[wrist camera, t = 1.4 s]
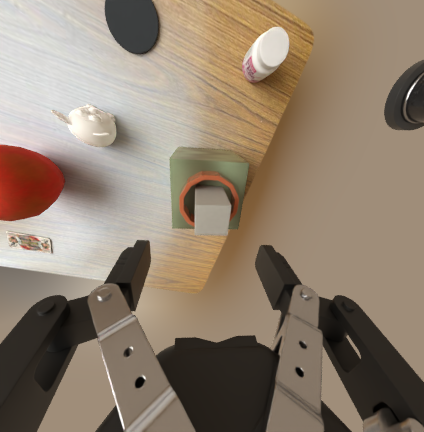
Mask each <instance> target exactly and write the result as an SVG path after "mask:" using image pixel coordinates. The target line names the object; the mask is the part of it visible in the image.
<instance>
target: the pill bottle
mask: <svg viewBox="0 0 424 432" xmlns="http://www.w3.org/2000/svg"><path fill="white" fill-rule="evenodd" d="M288 50H289V38H288V35H287V33H286V31H285V30H284V29H283V28H281V27H273V28H271V29H269V30H268V31H267V32H265V33H263V34H262V35H260V36H259V37H258V38H257V40H256V41H255V42H254V44H253V45H252V46H251V48H250V49H249V50H248V52H247V53H246V55H245V57H244V59H243V63H242V70H243V74H244V76H245V78H246V79H247V80H248V81H250V82H253V83H255V82H259V81H261V80H262V79H264V78H265V77H267V76H268V75H270V74H271V73H273V72H274V71H275V70H276V69H277V68H278V67H279V66H280V64H281V63H282V62H283V61H284V59H285V58H286V56H287V53H288Z"/></svg>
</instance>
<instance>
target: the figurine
mask: <svg viewBox="0 0 424 432" xmlns="http://www.w3.org/2000/svg"><path fill="white" fill-rule="evenodd" d="M51 112H52V113H53V114H54V115H55V116H56V117H58V118H59V119H60V120H62V121H64V122H65V123H67V124H68V127H69V129H70V131H71V132H72V133H73V134H74V135H75V136H76V137H77V138H78V139H79V140H81V141H82V142H84V143H86V144H88V145H91V146H95V147H106V146H108V145H110V144H111V143H113V141H114V140H115V138H116V126H115V122H116V120H115V118H114V116H113V115H112V114H110V113H104V112H103V111H101V110H99V109H97V108H95V107H94V106H93V105H90V104H87V106H84V107H79V108H76V109H75V110H73V111H72V112H71V113H70V114H69V116H68V117H66V116H65V115H63V114H61V113H59V112H57V111H55V110H51Z"/></svg>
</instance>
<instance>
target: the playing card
mask: <svg viewBox="0 0 424 432" xmlns="http://www.w3.org/2000/svg"><path fill="white" fill-rule="evenodd" d="M6 234H7V238H8V242H9V246H10V247H13V248H19V249H25V250H32V251H38V252H44V253H50V254H51V244H50V239H48V238H42V237H37V236H31V235H26V234H20V233H15V232H9V231H7V232H6Z"/></svg>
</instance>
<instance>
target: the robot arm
mask: <svg viewBox="0 0 424 432" xmlns="http://www.w3.org/2000/svg"><path fill="white" fill-rule="evenodd" d="M401 115H402V118H403V119H404V120H405V121H406V122H408V123H424V71H423V72H422V73H420V74H419V75H418V76H417V77H416V78H415V79H414V80H413V82H412V83H411V84H410V86H409V87H408V89H407V91H406V92H405V95H404V97H403V100H402V103H401ZM150 262H151V254H150V242H149V241H148V240H137V241H136V243H135V245H134V247H128V248H127V249H126V250H124V251H123V252H122V253H121V255H120V257H119V259H118V260H117V262H116V265H114V267H113V269H112V271H111V272H110V274H109V276H108V277H107V279H106V281H105V283H104V284H103V285H101V286H99V287H97V288H96V289H94V290H93V291H92V292H91V293H90V295H88V296H85V297H82V298H78V299H74V300H70V301H67V299H66V298H65V297H64V296H61V295H55V296H50V297H47V298H45V299H43V300H41V301H39V302H37V303H36V304H35V305H33V306H32V307H31V308H30V309H29V310H28V312H27V313H26V314H25V315H24V316H23V317H22V319H21V320H20V321H19V322H18V323H17V325H16V326H15V327H14V328H13V329H12V331H11V332H10V333H9V334H8V336H7V337H6V338H5V339H4V340H3V342H2V343H1V344H0V432H37V430H38V428H39V426H40V424H41V422H42V420H43V418H44V415H45V413H46V411H47V409H48V407H49V405H50V403H51V401H52V399H53V396H54V395H55V392H56V390H57V388H58V386H59V384H60V382H61V380H62V378H63V376H64V373H65V371H66V369H67V367H68V365H69V363H70V361H71V359H72V357H73V355H74V353H75V351H76V348H77V346H78V344H80V343H84V342H87V341H89V340H92V339H95V338H98V342H99V346H100V349H101V353H102V356H103V360H104V363H105V367H106V370H107V374H108V377H109V381H110V384H111V388H112V391H113V395H114V398H115V402H116V406H115V407H114V408H113V410H112V411H111V412H110V413H109V415H108V416H107V417H106V419H105V420H104V421H103V422H102V424H101V425H100V426H99V428H98V429H97V430H96V432H351V431H350V429H349V428H348V427H347V426H346V425H345V424H344V423H343V422H342V421H341V420H340V419H339V418H338V417H337V416H336V415H335V414H334V413H333V412H332V411H331V410H330V409H329V408H328V407H327V406H326V404H324V403H323V401H322V400H321V382H322V381H321V380H322V345H323V347H324V348H325V350H326V352H327V354H328V356H329V358H330V360H331V362H332V364H333V366H334V367H335V369H336V371H337V373H338V375H339V377H340V378H341V381H342V382H343V384H344V386H345V388H346V390H347V392H348V394H349V396H350V398H351V400H352V401H353V403H354V405H355V407H356V408H357V411H358V413H359V415H360V416H361V419H362V420H363V431H364V432H424V382H423V381H422V380H421V379H420V378H419V376H418V375H417V374H416V373H415V372H414V370H413V369H412V368H411V367H410V366H409V364H408V363H407V362H406V361H405V360H404V358H403V357H402V356H401V355H400V354H399V353H398V351H397V350H396V349H395V348H394V347H393V346H392V344H391V343H390V342H389V341H388V340H387V338H386V337H385V336H384V335H383V334H382V333H381V331H380V330H379V329H378V328H377V327H376V325H375V324H374V323H373V322H372V321H371V320H370V318H369V317H368V316H367V315H366V314H365V312H363V310H362V309H361V308H360V307H359V305H357V304H356V303H355V302H354V301H352V300H351V299H349V298H347V297H345V296H341V295H337V296H335V297H334V299H333V300H329V299H325V298H322V297H318V295H317V294H316V292H315V291H313V290H312V289H311V288H309V287H307V286H305V285H302V283H301V282H300V280H299V279H298V277H297V276H296V274H295V273H294V271H293V270H292V269H291V267H290V265H289V264H288V263H287V261H286V259H285V258H284V257H283V256H282V255H281V254H279V253H277V252H276V251H275V250H274V248H273V247H272V246H270V245H261V246H260V248H259V251H258V254H257V258H256V262H255V267H256V270H257V272H258V275H259V277H260V280H261V282H262V284H263V287H264V289H265V292H266V294H267V296H268V298H269V301H270V303H271V306H272V308H273V310H280V311H281V315H280V318H279V322H278V326H277V329H276V333H275V337H274V340H273V344H272V346H271V348H268V347H266V346H265V345H262V344H260V343H257V341H256V337H255V336H236V337H232V338H230V339H227V340H224V341H221V342H218V343H216V342H211V341H207V340H203V339H200V338H176V339H175V345H173V346H170V347H168V348H166V349H164V350H163V351H161V352H160V353H159V354H158V355H156V356H155V353H154V351H153V349H152V348H151V345H150V343H149V342H148V340H147V338H146V335H145V333H144V331H143V329H142V327H141V325H140V323H139V322H138V319H137V318H136V316H135V315H133V314H132V313H131V311H135V310H136V307H137V304H138V301H139V298H140V294H141V292H142V289H143V286H144V283H145V279H146V276H147V273H148V270H149V267H150ZM347 335H349V337H350V338H351V340H352V341H353V343H354V344H355V346H356V347H357V349H358V350H359V352H360V355H361V359H360V358H359V356H358V355H357V353H356V352H355V350H354V349H353V347H352V346H351V344H350V343H349V341H348V339H347V338H346V336H347Z"/></svg>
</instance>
